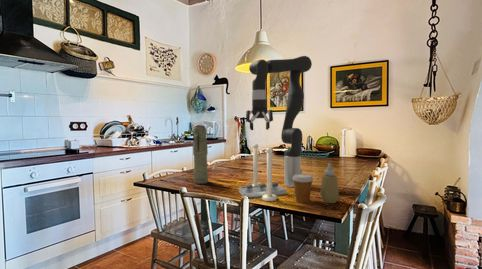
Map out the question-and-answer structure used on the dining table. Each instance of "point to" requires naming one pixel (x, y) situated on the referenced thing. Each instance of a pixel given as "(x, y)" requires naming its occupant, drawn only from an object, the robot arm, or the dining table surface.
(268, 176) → the near post
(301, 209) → the dining table surface
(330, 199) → the squeeze bottle
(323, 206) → the dining table surface
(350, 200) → the dining table surface
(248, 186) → the paddle
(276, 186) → the paddle
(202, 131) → the thermos
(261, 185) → the middle paddle
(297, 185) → the disposable coffee cup
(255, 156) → the far post
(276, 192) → the breaker panel
